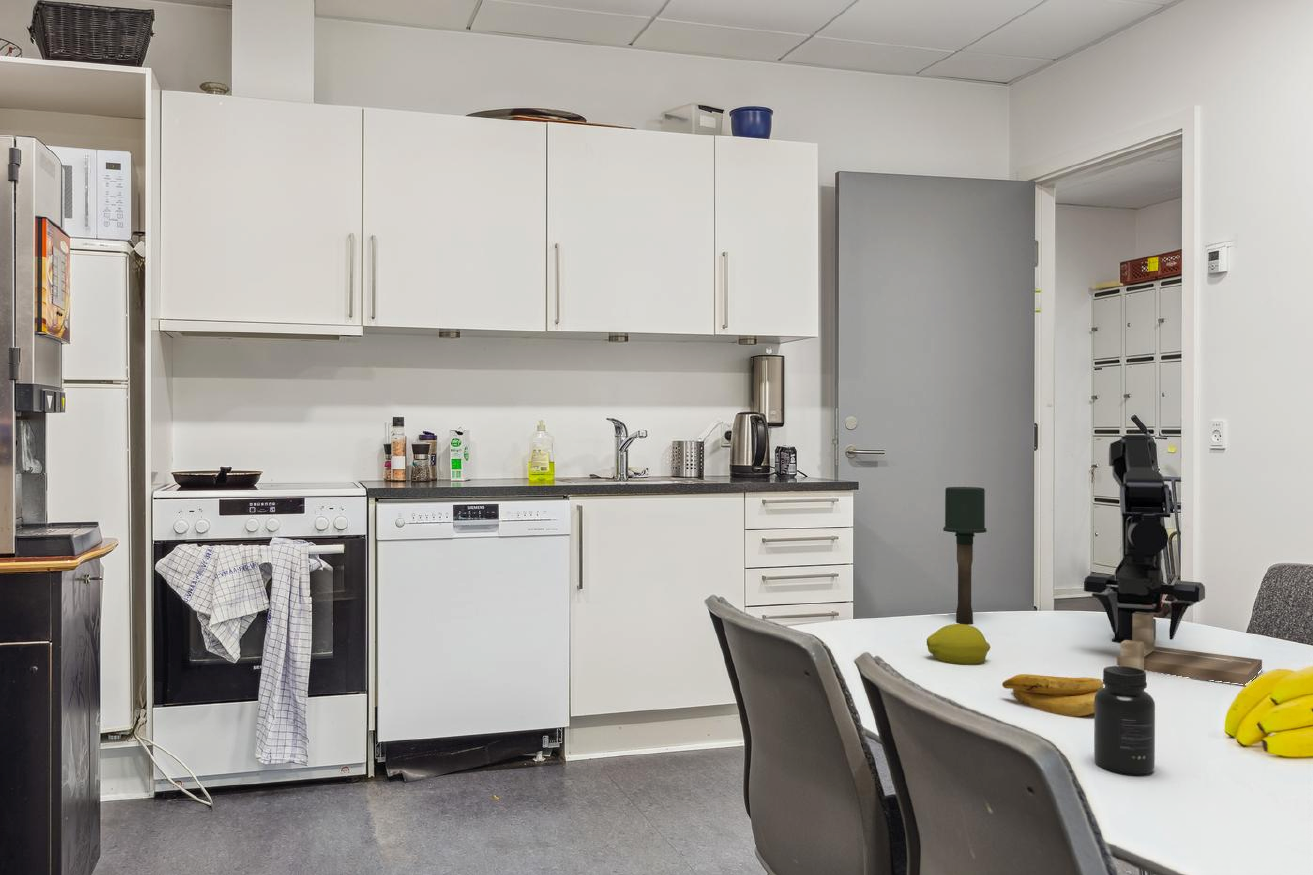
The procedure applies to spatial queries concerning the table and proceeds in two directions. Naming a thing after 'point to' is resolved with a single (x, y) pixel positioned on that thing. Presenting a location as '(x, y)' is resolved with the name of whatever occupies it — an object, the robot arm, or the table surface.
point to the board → (1201, 665)
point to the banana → (1056, 693)
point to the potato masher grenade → (964, 538)
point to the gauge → (1139, 641)
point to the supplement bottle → (1124, 722)
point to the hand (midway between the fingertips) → (1143, 635)
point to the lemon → (958, 645)
